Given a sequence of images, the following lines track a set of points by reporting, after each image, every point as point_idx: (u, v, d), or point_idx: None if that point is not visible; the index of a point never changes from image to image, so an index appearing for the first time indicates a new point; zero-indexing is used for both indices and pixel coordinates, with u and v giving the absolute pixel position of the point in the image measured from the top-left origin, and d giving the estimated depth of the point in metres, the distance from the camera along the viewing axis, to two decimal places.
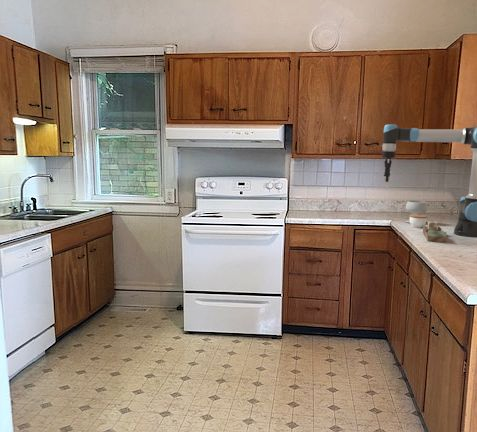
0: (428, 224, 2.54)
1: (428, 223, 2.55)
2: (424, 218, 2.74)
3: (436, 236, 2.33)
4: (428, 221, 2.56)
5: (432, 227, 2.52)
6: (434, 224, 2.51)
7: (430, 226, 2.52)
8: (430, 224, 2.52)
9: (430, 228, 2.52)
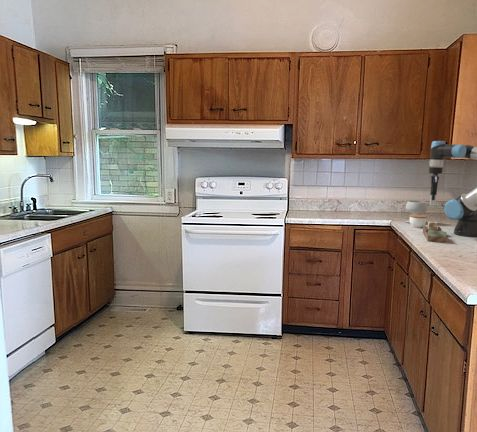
0: (428, 224, 2.54)
1: (428, 223, 2.55)
2: (424, 218, 2.74)
3: (436, 236, 2.33)
4: (428, 221, 2.56)
5: (432, 227, 2.52)
6: (434, 224, 2.51)
7: (430, 226, 2.52)
8: (430, 224, 2.52)
9: (430, 228, 2.52)
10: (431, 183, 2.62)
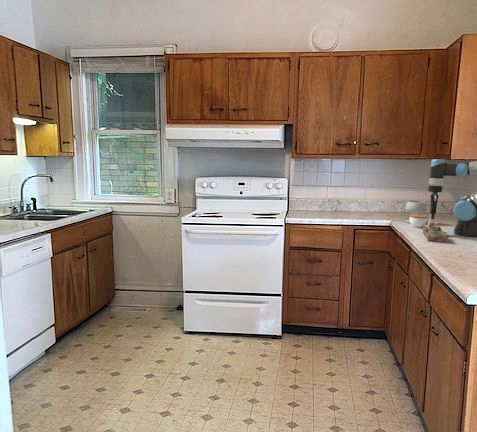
0: (428, 224, 2.54)
1: (428, 223, 2.55)
2: (424, 218, 2.74)
3: (436, 236, 2.33)
4: (428, 221, 2.56)
5: (432, 228, 2.52)
6: (434, 224, 2.51)
7: (430, 226, 2.52)
8: (430, 224, 2.52)
9: (430, 228, 2.52)
10: None
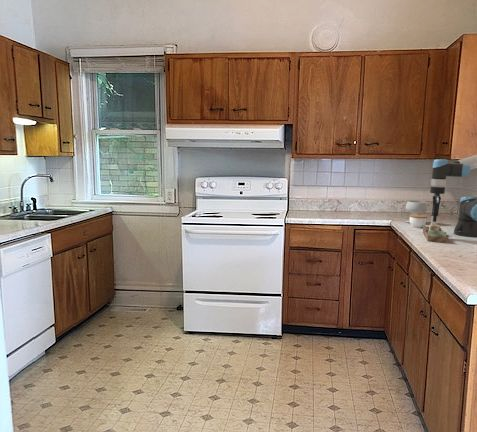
0: (429, 227, 2.44)
1: (429, 226, 2.44)
2: (424, 218, 2.74)
3: (436, 236, 2.33)
4: None
5: None
6: (435, 227, 2.41)
7: (431, 229, 2.42)
8: (431, 227, 2.42)
9: None
10: None
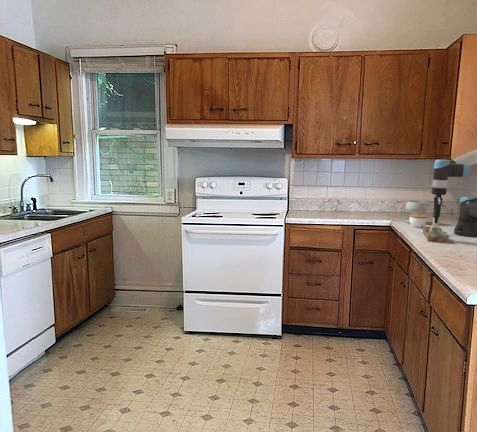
0: (431, 229, 2.39)
1: (431, 228, 2.39)
2: (424, 218, 2.74)
3: (436, 236, 2.33)
4: None
5: None
6: (437, 229, 2.36)
7: None
8: (433, 229, 2.37)
9: None
10: (434, 204, 2.43)
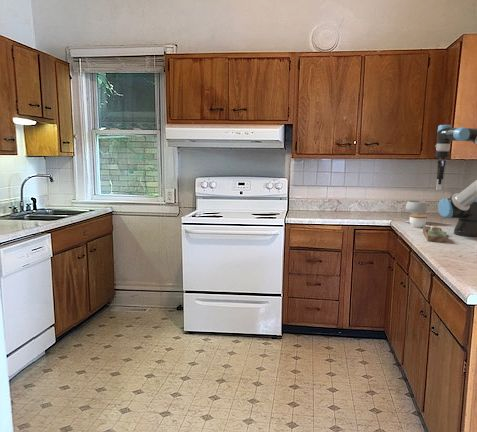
0: (431, 229, 2.39)
1: (431, 228, 2.39)
2: (424, 218, 2.74)
3: (436, 236, 2.33)
4: None
5: None
6: (437, 229, 2.36)
7: None
8: (433, 229, 2.37)
9: None
10: None
